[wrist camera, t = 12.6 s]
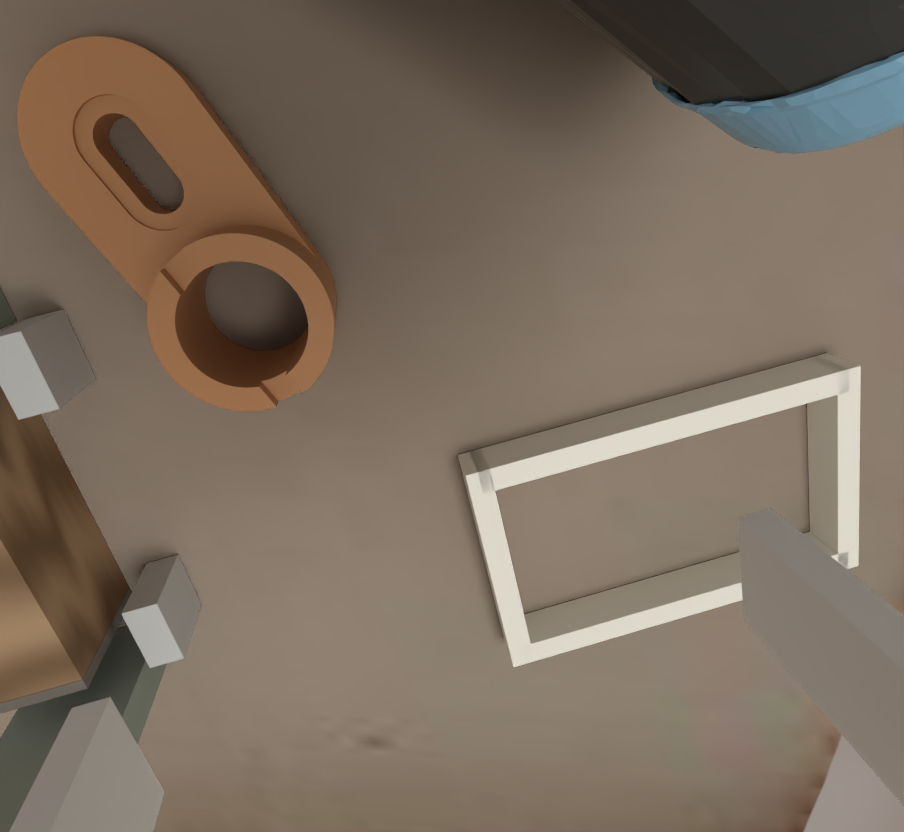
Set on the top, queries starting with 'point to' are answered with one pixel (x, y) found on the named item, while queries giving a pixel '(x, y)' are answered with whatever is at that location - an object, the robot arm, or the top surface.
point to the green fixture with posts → (150, 604)
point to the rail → (49, 571)
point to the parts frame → (646, 425)
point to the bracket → (173, 214)
